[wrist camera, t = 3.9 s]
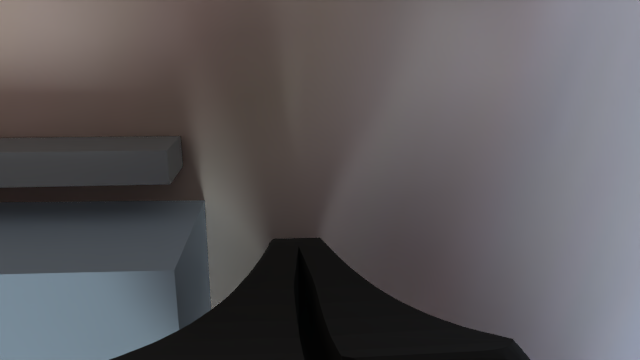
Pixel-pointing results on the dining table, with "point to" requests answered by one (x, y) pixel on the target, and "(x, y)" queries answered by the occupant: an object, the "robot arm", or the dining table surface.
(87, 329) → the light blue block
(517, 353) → the robot arm
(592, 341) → the dining table surface
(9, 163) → the track
